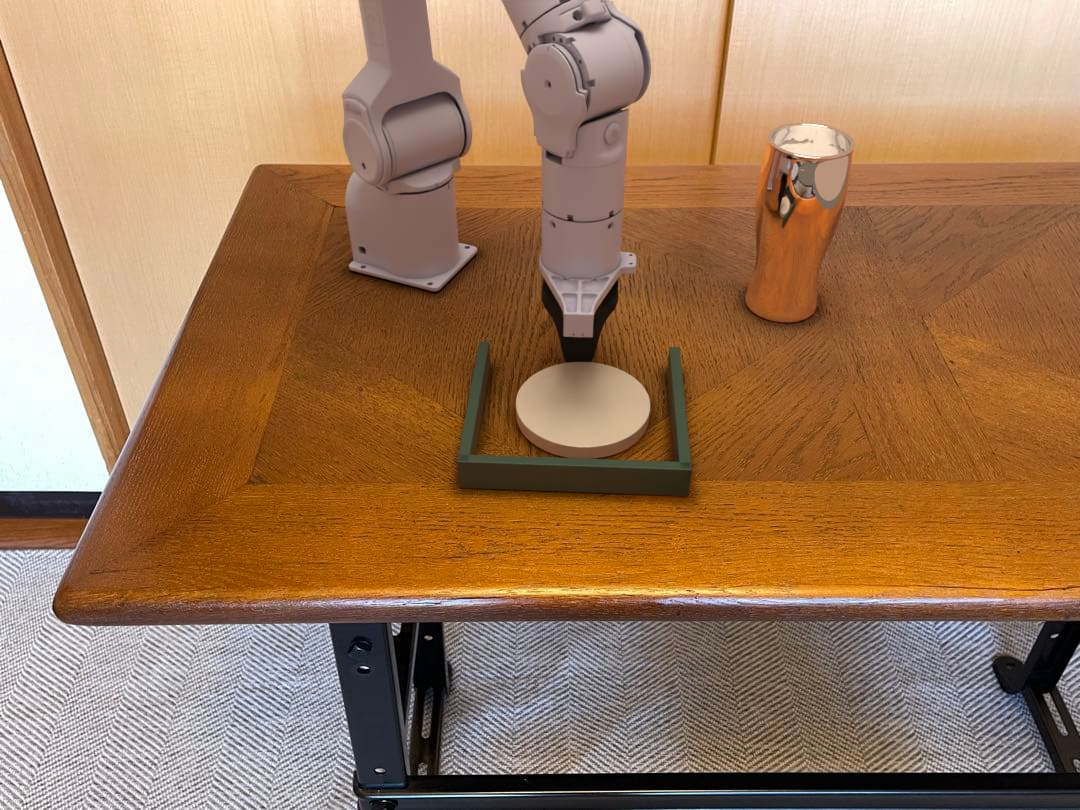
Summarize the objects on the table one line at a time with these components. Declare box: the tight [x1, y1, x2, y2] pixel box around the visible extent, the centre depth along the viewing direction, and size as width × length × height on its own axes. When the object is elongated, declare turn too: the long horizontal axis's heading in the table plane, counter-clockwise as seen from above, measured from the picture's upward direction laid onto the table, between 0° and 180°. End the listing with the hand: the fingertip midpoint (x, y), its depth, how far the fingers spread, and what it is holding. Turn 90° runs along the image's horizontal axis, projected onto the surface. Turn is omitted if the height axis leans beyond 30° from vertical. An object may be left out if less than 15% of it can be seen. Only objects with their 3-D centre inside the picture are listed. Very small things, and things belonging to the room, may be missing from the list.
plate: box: [515, 361, 651, 459], centre depth 69 cm, size 10×10×1 cm
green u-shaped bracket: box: [456, 341, 693, 497], centre depth 67 cm, size 14×16×2 cm
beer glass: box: [744, 122, 856, 324], centre depth 76 cm, size 7×7×15 cm
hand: (578, 359), depth 73 cm, fingers closed
